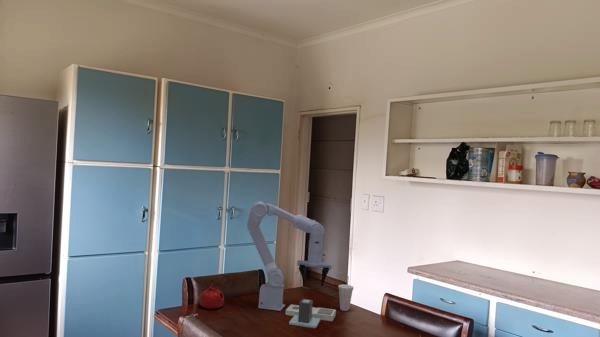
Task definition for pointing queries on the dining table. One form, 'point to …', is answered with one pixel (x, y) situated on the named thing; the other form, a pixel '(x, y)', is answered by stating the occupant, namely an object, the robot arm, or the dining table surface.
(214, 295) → the pomegranate
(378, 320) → the dining table surface
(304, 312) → the block
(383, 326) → the dining table surface
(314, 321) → the tile
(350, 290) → the smoothie
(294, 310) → the power strip
